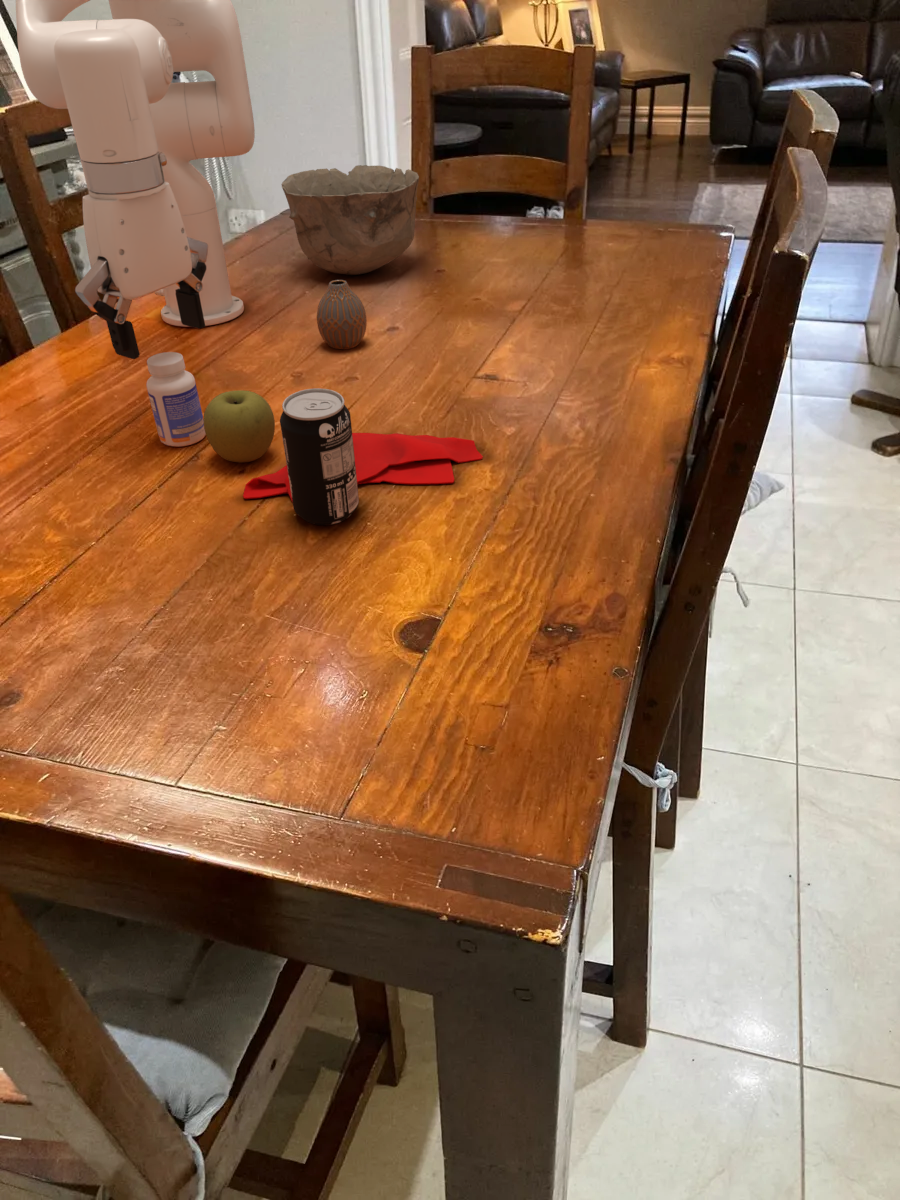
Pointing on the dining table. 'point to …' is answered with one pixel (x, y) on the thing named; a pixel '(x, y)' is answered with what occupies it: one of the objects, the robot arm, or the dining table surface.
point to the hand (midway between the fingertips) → (161, 340)
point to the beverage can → (319, 455)
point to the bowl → (353, 216)
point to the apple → (239, 425)
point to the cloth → (387, 462)
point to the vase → (341, 316)
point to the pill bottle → (174, 400)
